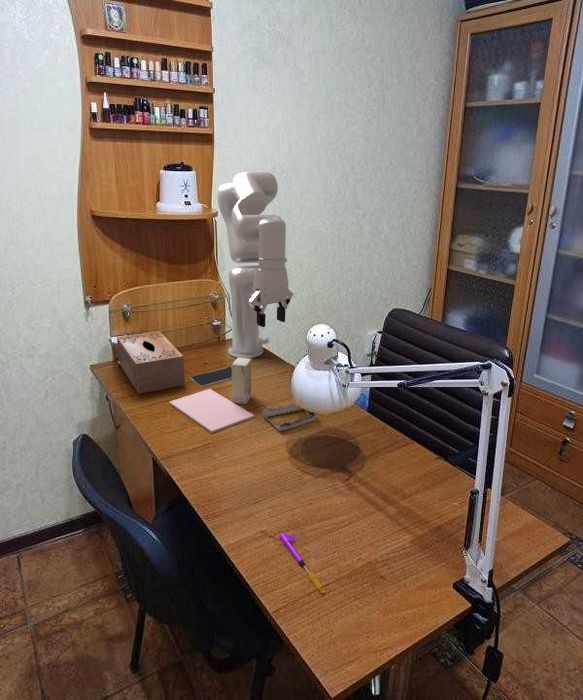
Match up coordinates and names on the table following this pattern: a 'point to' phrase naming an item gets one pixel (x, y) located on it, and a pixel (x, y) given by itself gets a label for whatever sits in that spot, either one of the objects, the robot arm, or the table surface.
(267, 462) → the table surface
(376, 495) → the table surface
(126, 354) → the tissue box cover
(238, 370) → the skincare box
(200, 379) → the smartphone
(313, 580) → the purple and yellow tool
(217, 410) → the nail mat
